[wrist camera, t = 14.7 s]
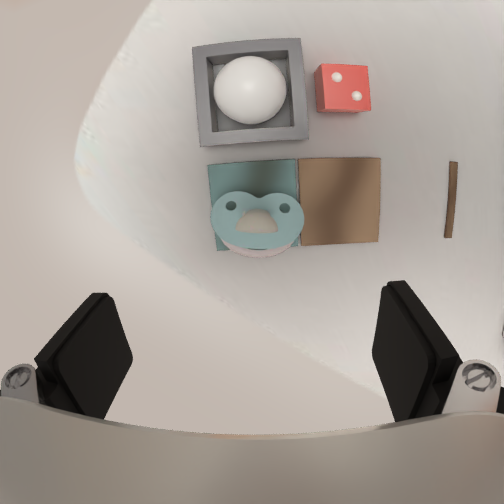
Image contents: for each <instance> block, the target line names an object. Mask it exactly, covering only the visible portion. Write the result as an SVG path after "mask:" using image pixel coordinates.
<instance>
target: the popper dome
mask: <svg viewBox="0 0 504 504" xmlns="http://www.w3.org/2000/svg"><path fill="white" fill-rule="evenodd" d="M214 97H215V101H216V103H217V105H218V107H219V108H220V110H221V111H222V112H223V113H224V114H225V115H226V116H228V117H229V118H231V119H233V120H235V121H237V122H240V123H243V124H250V125H252V124H260V123H263V122H266V121H268V120H269V119H271V118H272V117H274V116H275V115H276V114H277V112H278V111H279V110H280V108H281V106H282V105H283V103H284V100H285V97H286V82H285V79H284V76H283V74H282V73H281V71H280V70H279V69H278V67H277V66H275V65H274V64H273V63H272V62H270V61H268V60H266V59H264V58H261V57H256V56H244V57H240V58H237V59H234V60H232V61H230V62H229V63H227V64H226V65H225V66H224V67H223V68H222V69H221V70H220V72H219V73H218V75H217V77H216V79H215V83H214Z"/></svg>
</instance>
